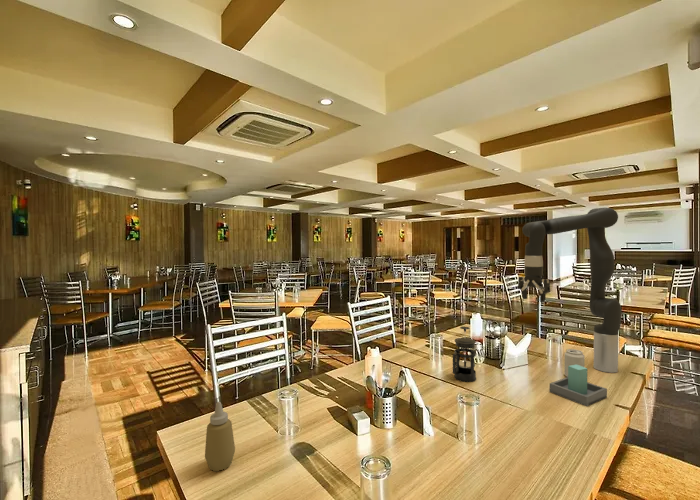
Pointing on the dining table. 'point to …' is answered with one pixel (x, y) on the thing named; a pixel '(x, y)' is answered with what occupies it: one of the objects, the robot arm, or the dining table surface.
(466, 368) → the french press
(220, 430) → the squeeze bottle
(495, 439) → the dining table surface
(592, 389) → the tray
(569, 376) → the green tall block
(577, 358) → the can
